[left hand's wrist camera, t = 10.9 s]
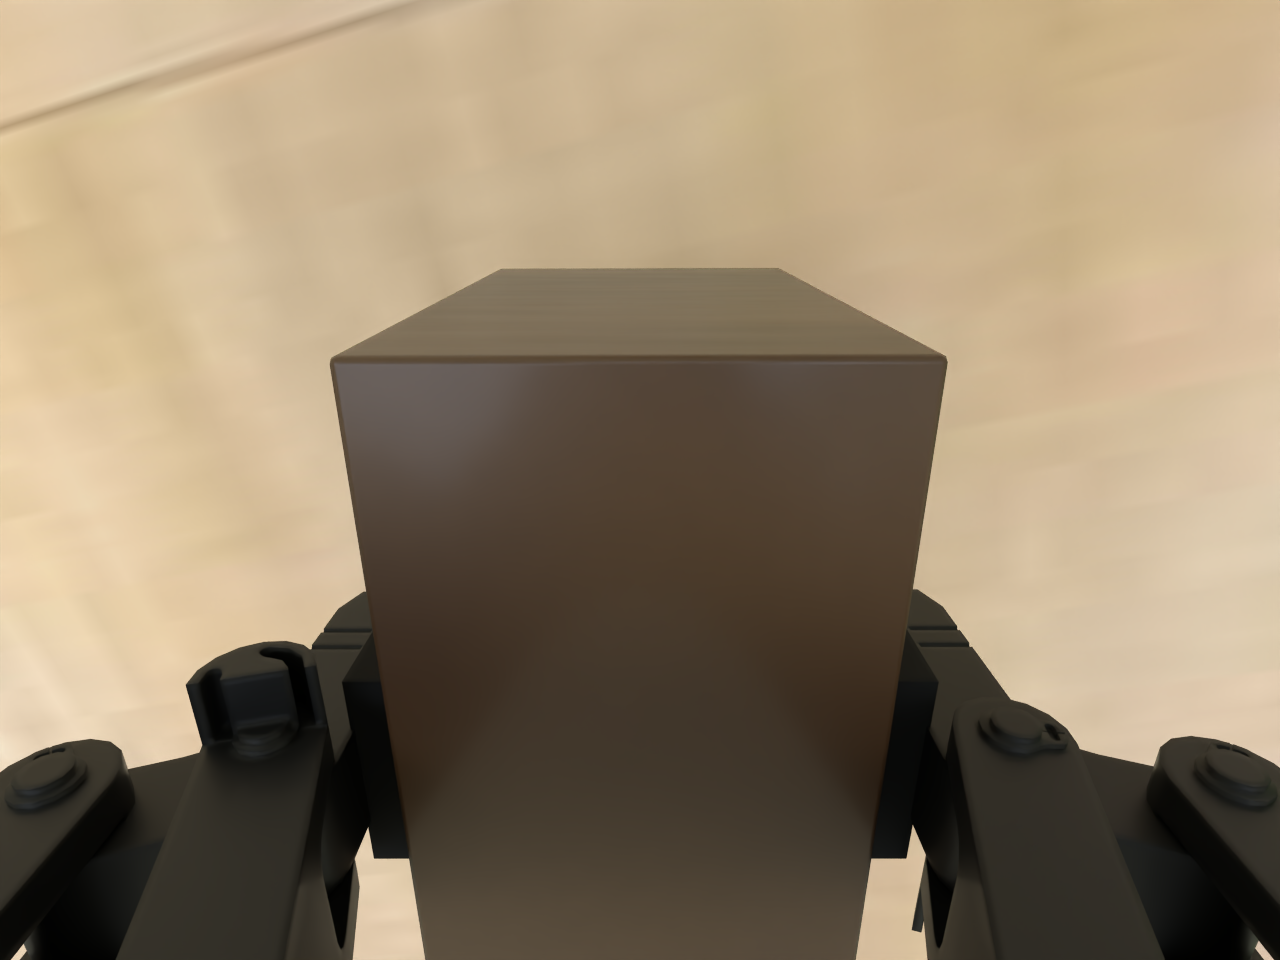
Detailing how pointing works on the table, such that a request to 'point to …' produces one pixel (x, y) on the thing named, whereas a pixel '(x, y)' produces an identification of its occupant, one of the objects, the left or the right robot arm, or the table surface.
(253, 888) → the left robot arm
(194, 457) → the table surface
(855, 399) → the beam
